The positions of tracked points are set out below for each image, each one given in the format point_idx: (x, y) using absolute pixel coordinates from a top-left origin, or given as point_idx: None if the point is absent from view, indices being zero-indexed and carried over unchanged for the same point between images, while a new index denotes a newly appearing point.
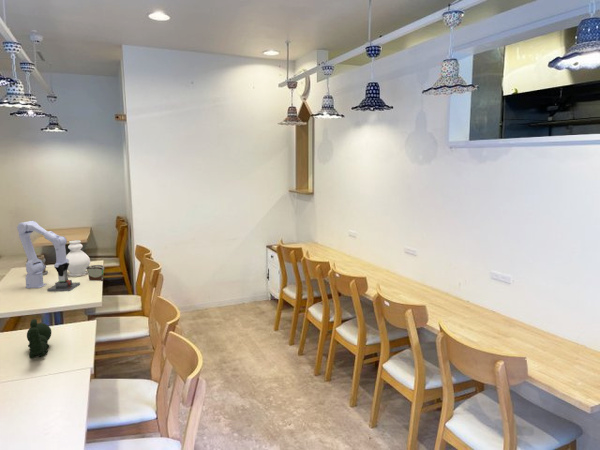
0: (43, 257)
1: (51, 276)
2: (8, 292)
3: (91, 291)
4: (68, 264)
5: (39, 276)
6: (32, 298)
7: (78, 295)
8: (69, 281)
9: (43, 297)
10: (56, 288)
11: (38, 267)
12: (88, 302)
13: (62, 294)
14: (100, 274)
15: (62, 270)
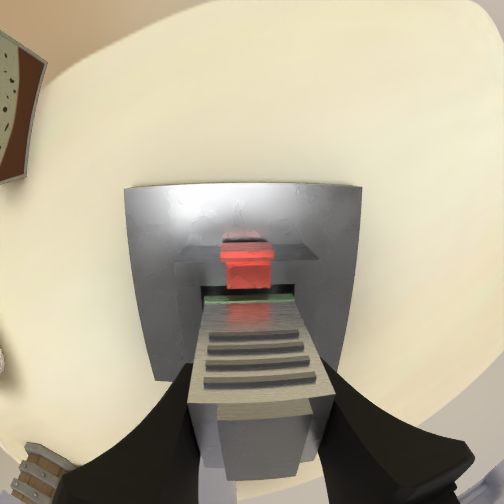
0: (19, 499)
1: (45, 431)
2: (300, 480)
3: (360, 9)
4: (112, 502)
5: (215, 496)
6: (440, 352)
7: (444, 81)
8: (233, 260)
9: (447, 306)
10: (330, 321)
11: None
12: (497, 35)
13: (425, 208)
14: (10, 56)
15: (391, 417)
